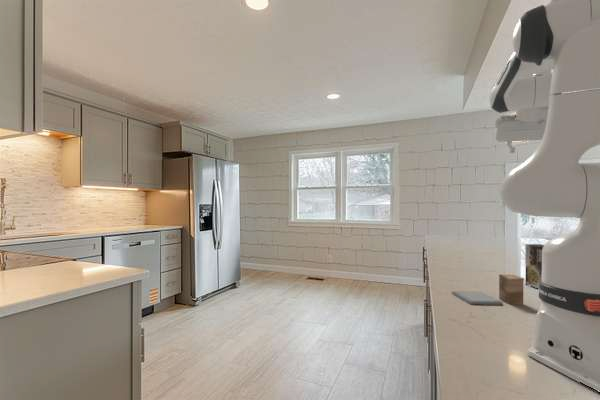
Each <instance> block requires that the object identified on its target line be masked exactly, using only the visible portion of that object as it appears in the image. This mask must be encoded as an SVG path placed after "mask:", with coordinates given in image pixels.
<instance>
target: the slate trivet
mask: <svg viewBox="0 0 600 400" xmlns="http://www.w3.org/2000/svg"><path fill="white" fill-rule="evenodd" d="M451 294H452V295H453V296H455V297H457V298H458V297H459V299H460V298H461V300H462V301H463V302H465V301H466V302H465V303H467V302H468V303H467V304H468V305H475V304H483V305H484V306H485V305H487V306H490V305H491V306H503V305H504V301H501V300H499V299H496V298H494V297H493V296H490V295H488V294H486V293H484V292H481V291H464V290H463V291H460V290H459V291H457V290H456V291H455V290H454V291H452V290H451Z"/></svg>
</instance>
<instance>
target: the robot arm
mask: <svg viewBox="0 0 600 400" xmlns="http://www.w3.org/2000/svg"><path fill="white" fill-rule="evenodd" d="M512 47H513V51H514V52H513V53H512V54H511V56H510V58H509V59H508V61H507V62H506V64H505V66H504V69H503V70H502V72H501V74H500V76H499V78H498V80H497V81H496V83H495V84H494V85H493V87H492V89H491V91H490V94H489V105H490V108H491V109H492V110H494V111H495V112H496V113H499V114H500V113H501V114H502V113H506V112H511V111H516V112H515V114H511V115H510V114H509V115H502V116H500V117H498V118H497V119H496V120H495V128H496V129H497V130H496V134H495V141H496V142H498V143H500V142H501V143H504V142H506V146H507V147H508V148H509V153H510V154H515V153H516V147H515V146H513V145H512V142H524V141H540V142H539V144H538V146H537V147H536V148H535V150H534V152H533V153H532V154H531V155H530V156H529V157H528V158H527V159H525V161H524V162H522V163H521V164H520V165H517V166H516V167H515V168H513V169H511V171H509V172H508V173H507V174H506V175H505V177H504V178H503V180H502V182H501V185H500V193H499V194H500V198H501V200H502V202H503V204H504V205H505V207H506V208H507V209H508V210H509V211H511V212H513V213H516V214H517V213H518V214H521V215H528V216H533V217H543V218H544V217H549V218H551V217H552V218H576V219H579V223H578V226H577V227H576V228H575V229H574V230H573V231H571V232H567V233H565V234H562V235H558V236H556V237H553V238H552V239H549V240H548V241H546V243H545V244H543V245H544V247H543V249H542V280H541V281H540V282H539V287H538V289H537V290H538V291H537V292H538V298H539V299H540V304H539V308H538V310H537V312H536V315H535V322H534V329H533V335H532V341H531V345H530V346H529V348H528V349H527V355H528V356H529V357H530V358H532V359H534V360H536V361H538V362H540V363H541V364H544V365H545V366H547V367H550V368H551V369H553V370H555V371H556V372H559V373H560V374H563V375H565V376H566V377H568V378H570V379H572V380H574V381H576V382H578V383H580V382H581V383H583V384H585V385H587V386H590V387H592V388H595V389H597V390H599V391H600V162H585V163H584V162H583V163H582V162H581V163H580V159H581V158H582V157H583V155H584V154H585V153H586V152H588V151H589V150H591V149H592V148H595V147H597V146H599V145H600V0H550V1H549V2H548V4H546V5H544V4H541V5H539V6H536V7H534V8H531V9H529V10H528V11H526V12H524V13H523V14H522V15H521V16H520V18H519V19H518V22H517V24H516V26H515V28H514V31H513V34H512ZM581 383H580V384H581ZM583 384H582V385H583ZM585 385H584V386H585ZM587 386H586V387H587Z"/></svg>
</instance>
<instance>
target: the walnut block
mask: <svg viewBox="0 0 600 400" xmlns="http://www.w3.org/2000/svg"><path fill="white" fill-rule="evenodd" d="M498 278H499V279H498V280H499V281H498V284H499V286H498V287H499V288H498V291H499V292H498V300H499V299H500V300H499V301H501V300H502V301H501V302H503V303H506V304H508V305H524V281H525V280H524V279H525V278H523V277H522V276H518V275H515V274H499V275H498Z"/></svg>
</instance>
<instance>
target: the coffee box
mask: <svg viewBox="0 0 600 400" xmlns="http://www.w3.org/2000/svg"><path fill="white" fill-rule="evenodd" d="M544 245H545V244H541V243H540V244H538V243H537V244H535V243H532V244H530V243H529V244H526V243H525V255H524V256H525V285H526V284H528V285H530V286H533V287H536V288H538V287H539V282H540V281H541V280H542V249H543V247H544ZM530 286H529V287H530ZM533 287H532V288H533ZM536 288H535V289H536Z"/></svg>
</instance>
